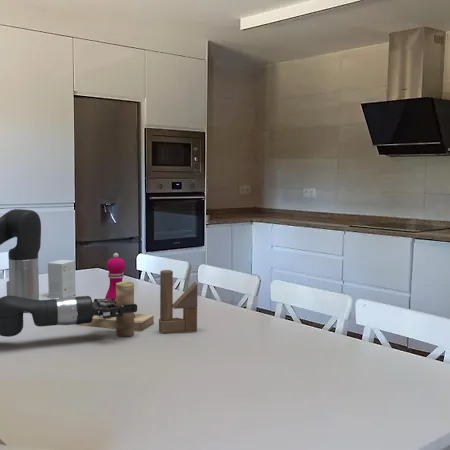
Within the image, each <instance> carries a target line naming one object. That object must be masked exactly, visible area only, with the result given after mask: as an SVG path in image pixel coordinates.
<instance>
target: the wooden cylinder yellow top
mask: <svg viewBox="0 0 450 450" xmlns="http://www.w3.org/2000/svg"><path fill="white" fill-rule="evenodd" d="M128 304H135V282H133V281H122V282H118V283H116V305H128ZM116 312H119V310H116ZM134 313H135V312H131V313H124V314H123V316H119V317H116V329H115V335H116V336H118V337H121V338H123V337H131V336H134V335H135V330H134V318H135V314H136V313H135V314H134Z"/></svg>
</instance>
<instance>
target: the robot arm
mask: <svg viewBox="0 0 450 450" xmlns="http://www.w3.org/2000/svg"><path fill="white" fill-rule="evenodd" d="M41 221H42V220H41V217H40V216H39V214H38V212H36V211H35V210H31V209H21V208H17V209H16V208H14V209H11V210H9V211H7V212H5V213H4V214H3V215H2V216H0V246H1V245H3V244H4V243H7V241H9V240H11V239H14V238H16V245H15V246H14V247H12V248H10V249H9V251H8V281H6V285H5V287H6V295H4V296H1V297H0V336H1V337H7V338H8V337H14V336H17V335H19V334H20V333H22V331H23V329H24V313H28V314H31V316H32V320H33V324H34V326H36V327H42V328H43V327H50V326H73V325H74V326H75V324H85V323H91V322H92V319H93V318H92V317H93V316H99V317H103V318H104V319H106V318H112V317H119V316H123V314H124V313H131V312H134V313H137V312H138V304H136V303H134V304H128V305H116V300H115V299H114V298H112V299H105V298H94V299H92V297H91V296H90V295H81V296H79V295H78V296H71V297H65V298H60V299H54V298H49V299H40V290H39V289H40V288H39V286H40V285H39V283H40V282H39V280H40V278H39V252H40V250H41V244H42V243H41V241H42V240H41V239H42V222H41ZM107 302H108V303H107ZM116 310H119V312H116Z"/></svg>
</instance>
